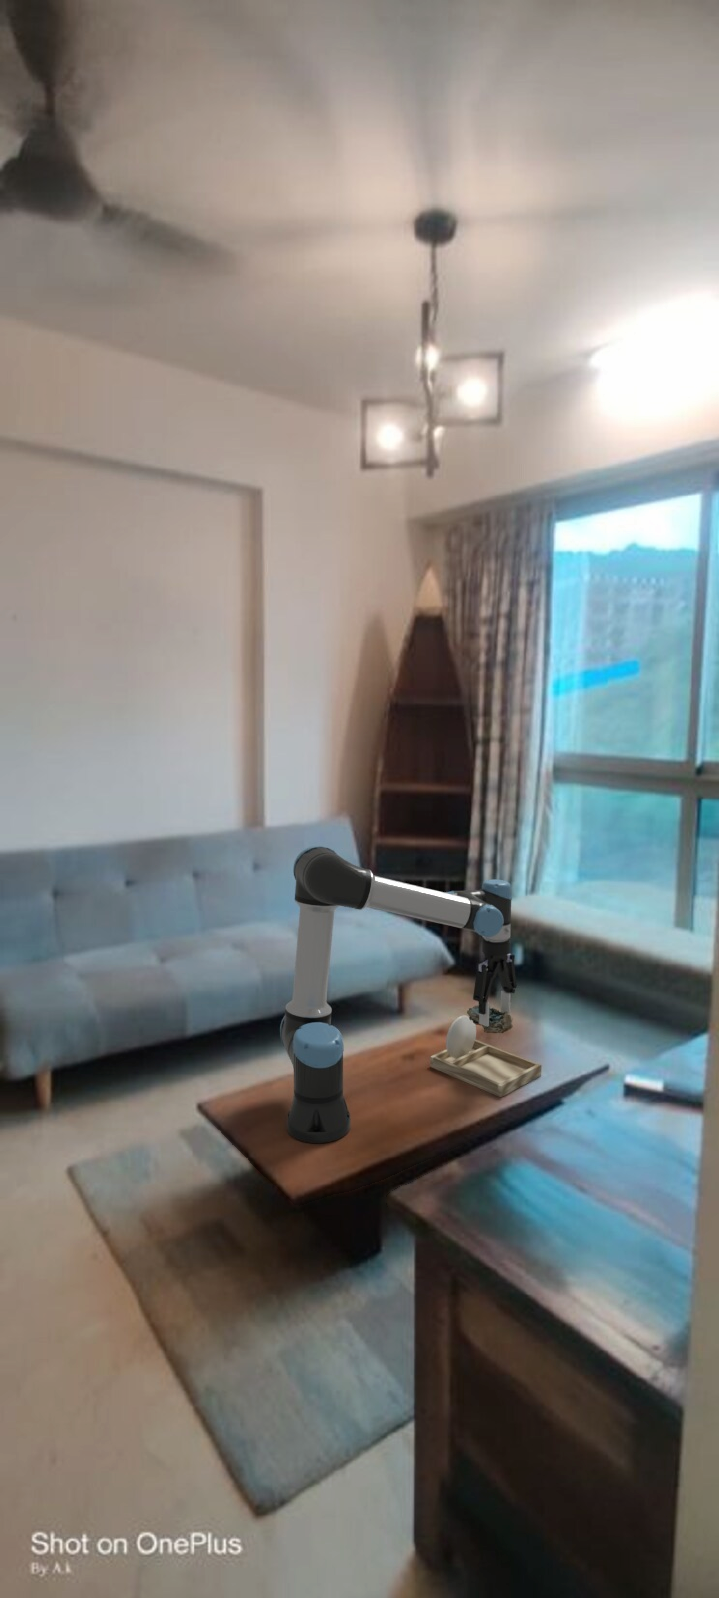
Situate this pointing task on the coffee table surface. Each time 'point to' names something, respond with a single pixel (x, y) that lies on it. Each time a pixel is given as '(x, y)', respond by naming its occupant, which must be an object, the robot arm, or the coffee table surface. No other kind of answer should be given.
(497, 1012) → the mineral specimen
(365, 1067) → the coffee table surface
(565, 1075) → the coffee table surface
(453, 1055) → the standing plate
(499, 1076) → the wooden tray
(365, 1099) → the coffee table surface
